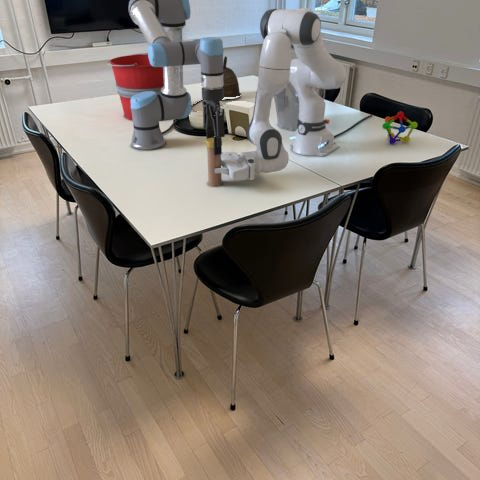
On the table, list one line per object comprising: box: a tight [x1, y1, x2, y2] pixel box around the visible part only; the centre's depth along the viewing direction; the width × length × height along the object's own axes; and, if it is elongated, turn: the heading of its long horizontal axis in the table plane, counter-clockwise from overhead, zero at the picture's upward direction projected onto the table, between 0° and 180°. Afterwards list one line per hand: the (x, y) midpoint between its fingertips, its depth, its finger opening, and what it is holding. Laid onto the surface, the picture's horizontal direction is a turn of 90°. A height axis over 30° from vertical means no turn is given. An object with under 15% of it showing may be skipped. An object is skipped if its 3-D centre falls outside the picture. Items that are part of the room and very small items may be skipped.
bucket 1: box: [106, 52, 164, 121], centre depth 240 cm, size 35×35×30 cm
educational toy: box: [382, 110, 418, 145], centre depth 207 cm, size 16×13×15 cm
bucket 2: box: [273, 81, 326, 131], centre depth 226 cm, size 30×30×28 cm
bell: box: [223, 56, 242, 97], centre depth 278 cm, size 19×26×20 cm
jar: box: [206, 146, 223, 187], centre depth 166 cm, size 5×5×17 cm
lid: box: [205, 138, 223, 148], centre depth 162 cm, size 6×6×2 cm
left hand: (214, 151), depth 164 cm, fingers closed on lid, 6 cm apart
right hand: (212, 167), depth 167 cm, fingers closed on jar, 5 cm apart
